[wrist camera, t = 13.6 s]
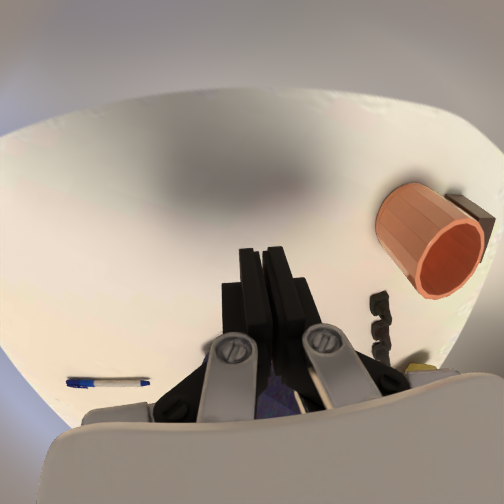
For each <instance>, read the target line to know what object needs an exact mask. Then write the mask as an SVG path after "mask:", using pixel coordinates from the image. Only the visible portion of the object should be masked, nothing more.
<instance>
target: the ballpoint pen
mask: <svg viewBox="0 0 504 504" xmlns="http://www.w3.org/2000/svg"><path fill="white" fill-rule="evenodd" d="M66 384H67V386H69V387H73V388H87V387H141V386H147V385H150V382H149V381H144V380H128V381H95V380H66ZM70 385H71V386H70ZM76 386H77V387H76ZM80 386H82V387H80ZM87 389H88V388H87Z"/></svg>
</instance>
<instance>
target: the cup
mask: <svg viewBox="0 0 504 504" xmlns="http://www.w3.org/2000/svg"><path fill="white" fill-rule="evenodd" d="M376 234H377V238H378V240H379V242H380V244H381V245H382V247H383V248H384V250H385V251H386V252H387V253H388V255H389V256H390V257H391V258H392V260H393V261H394V262H395V263H396V265H397V266H398V267H399V268H400V270H401V271H402V272H403V273H404V275H405V276H406V277H407V279H408V280H409V281H410V282H411V284H412V285H413V286H414V288H415V289H416V290H417V292H418V293H419V294H421V295H422V296H423V297H424V298H425V299H433V300H438V299H441V298H444V297H447V296H449V295H451V294H452V293H454V292H455V291H457V290H458V289H460V288H461V287H462V286H463V285H464V284H465V283H466V282H467V281H468V279H469V278H470V277H471V276H472V275H473V273H474V271H475V270H476V268H477V266H478V264H479V262H480V260H481V257H482V254H483V250H484V245H485V244H484V231H483V229H482V228H481V226H480V224H479V222H478V221H476V220H475V219H474V218H473V217H471V216H470V215H468V214H467V213H466V212H464V211H463V210H462V209H460V208H459V207H458V206H456V205H455V204H453V203H452V202H450V201H449V200H448V199H446V198H445V197H443V196H442V195H440V194H439V193H437V192H436V191H434V190H433V189H431V188H429V187H427V186H425V185H423V184H420V183H409V184H406V185H403V186H401V187H399V188H397V189H396V190H394V191H393V192H392V193H391V194H390V195H389V196H388V197H387V198H386V200H385V201H384V202H383V204H382V206H381V208H380V210H379V213H378V215H377V220H376Z"/></svg>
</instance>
